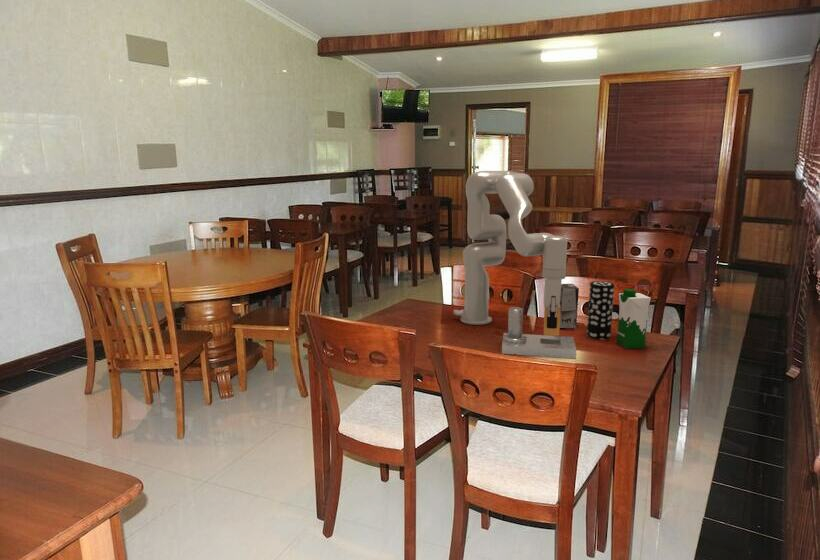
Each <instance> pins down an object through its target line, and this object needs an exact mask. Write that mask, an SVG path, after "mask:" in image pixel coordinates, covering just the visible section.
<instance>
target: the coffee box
mask: <svg viewBox="0 0 820 560" xmlns="http://www.w3.org/2000/svg"><path fill="white" fill-rule="evenodd" d="M579 292H580V288H579V287H578V286H576V285H575V284H573V283H561V296H560V306H561V308H560V328H576V329H577V324H578V323H577V321H578V308H579V307H578V305H579ZM560 328H559V329H560Z"/></svg>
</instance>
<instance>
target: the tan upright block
mask: <svg viewBox="0 0 820 560" xmlns="http://www.w3.org/2000/svg"><path fill="white" fill-rule="evenodd" d="M550 307H551V306H550ZM555 308H556V306H555ZM560 308H561V306H560V305H559V308H558V309H557V328H556V329H554V328H547V316H548V307H546V308H545V307H544V311H543V313H544V315H543V335H547V336H560ZM550 310H551V309H550Z"/></svg>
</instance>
